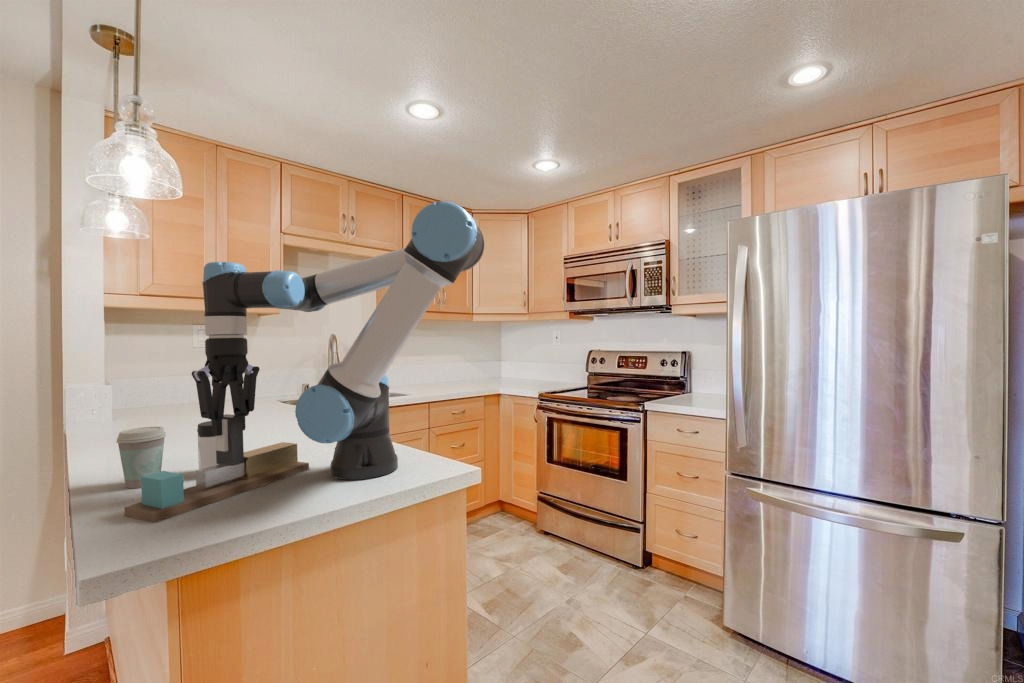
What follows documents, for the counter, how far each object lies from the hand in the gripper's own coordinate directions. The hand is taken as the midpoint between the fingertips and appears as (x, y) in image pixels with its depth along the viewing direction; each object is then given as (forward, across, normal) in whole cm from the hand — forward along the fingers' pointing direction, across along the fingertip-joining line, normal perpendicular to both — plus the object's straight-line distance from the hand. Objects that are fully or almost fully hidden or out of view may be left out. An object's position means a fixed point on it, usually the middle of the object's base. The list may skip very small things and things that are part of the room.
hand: (229, 448), depth 95 cm
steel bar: (+6, -4, 0) cm, 7 cm away
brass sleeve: (+7, -9, 0) cm, 11 cm away
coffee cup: (+9, +5, -22) cm, 24 cm away
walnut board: (+9, 0, 0) cm, 9 cm away
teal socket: (+7, +13, 0) cm, 15 cm away
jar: (+9, -7, -14) cm, 18 cm away
